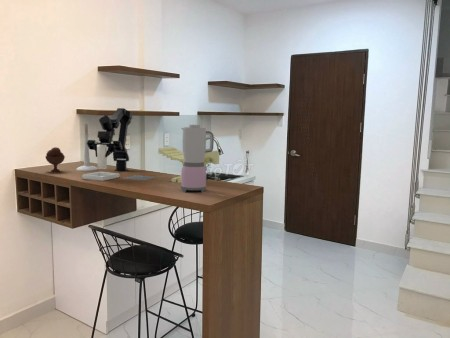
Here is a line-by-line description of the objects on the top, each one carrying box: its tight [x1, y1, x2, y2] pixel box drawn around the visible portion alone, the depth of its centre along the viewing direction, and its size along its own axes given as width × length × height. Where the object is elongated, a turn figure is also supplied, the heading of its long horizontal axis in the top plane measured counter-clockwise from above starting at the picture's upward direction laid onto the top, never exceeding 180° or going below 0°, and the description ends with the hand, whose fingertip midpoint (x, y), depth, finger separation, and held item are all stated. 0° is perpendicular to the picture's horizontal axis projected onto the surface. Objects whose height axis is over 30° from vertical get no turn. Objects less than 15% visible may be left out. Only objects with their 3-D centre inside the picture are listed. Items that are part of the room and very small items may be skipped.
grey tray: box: [81, 171, 120, 182], centre depth 206 cm, size 14×14×2 cm
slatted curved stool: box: [157, 146, 220, 184], centre depth 206 cm, size 30×16×18 cm, turn 61°
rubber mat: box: [122, 174, 157, 181], centre depth 210 cm, size 14×14×1 cm
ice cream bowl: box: [45, 147, 66, 173], centre depth 226 cm, size 11×11×15 cm
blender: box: [180, 124, 215, 193], centre depth 179 cm, size 16×12×32 cm
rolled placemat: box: [96, 145, 108, 170], centre depth 205 cm, size 5×5×13 cm
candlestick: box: [76, 123, 98, 172], centre depth 236 cm, size 13×13×30 cm
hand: (101, 156), depth 203 cm, fingers closed on rolled placemat, 5 cm apart
